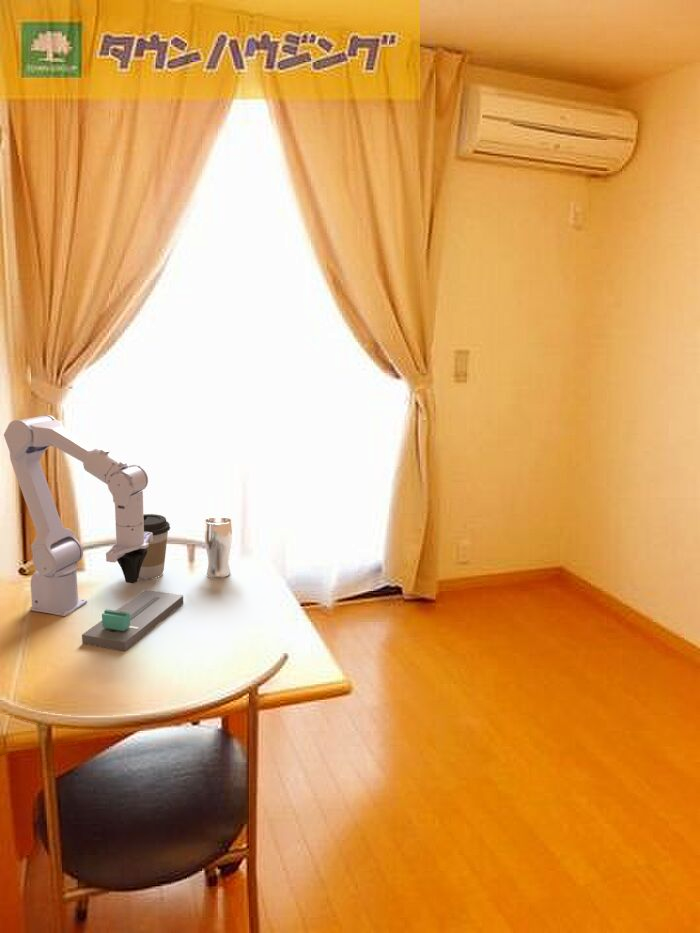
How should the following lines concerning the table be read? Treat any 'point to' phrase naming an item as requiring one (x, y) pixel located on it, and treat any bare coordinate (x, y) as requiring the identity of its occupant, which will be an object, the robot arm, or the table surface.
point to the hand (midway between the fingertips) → (131, 581)
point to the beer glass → (218, 545)
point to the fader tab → (115, 620)
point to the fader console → (135, 620)
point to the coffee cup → (155, 546)
